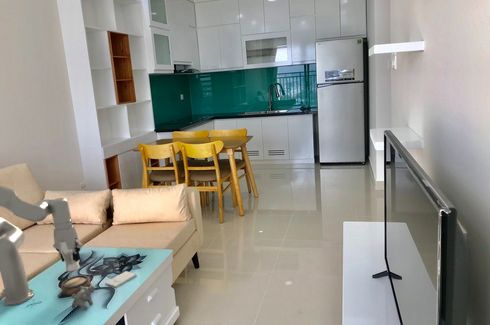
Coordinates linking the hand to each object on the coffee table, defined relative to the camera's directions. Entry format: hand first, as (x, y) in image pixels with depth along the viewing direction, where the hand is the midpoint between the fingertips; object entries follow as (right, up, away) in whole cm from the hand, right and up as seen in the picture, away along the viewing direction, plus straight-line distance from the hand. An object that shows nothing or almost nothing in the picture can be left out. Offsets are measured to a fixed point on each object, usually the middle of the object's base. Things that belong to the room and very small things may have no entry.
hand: (71, 260), depth 190 cm
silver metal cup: (0, -4, +1) cm, 5 cm away
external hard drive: (+22, -12, +7) cm, 26 cm away
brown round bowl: (+1, -14, +3) cm, 15 cm away
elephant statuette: (+12, -17, -12) cm, 23 cm away
